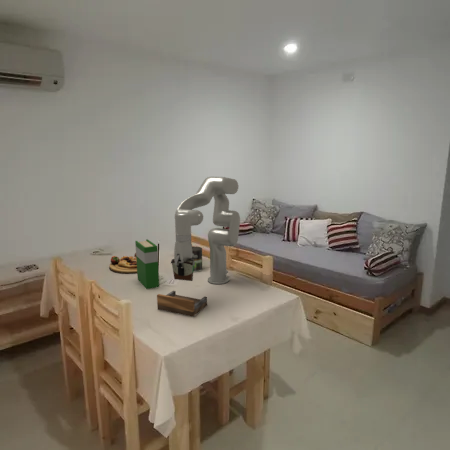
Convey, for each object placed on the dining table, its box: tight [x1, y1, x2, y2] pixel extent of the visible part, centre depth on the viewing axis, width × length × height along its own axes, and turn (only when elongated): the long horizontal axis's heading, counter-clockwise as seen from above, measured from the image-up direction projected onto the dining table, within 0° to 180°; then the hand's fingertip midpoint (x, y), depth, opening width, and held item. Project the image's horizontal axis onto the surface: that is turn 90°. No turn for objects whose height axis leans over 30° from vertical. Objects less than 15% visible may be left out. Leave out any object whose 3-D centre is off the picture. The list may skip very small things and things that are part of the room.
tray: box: [156, 290, 208, 318], centre depth 178 cm, size 14×20×8 cm
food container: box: [170, 258, 195, 282], centre depth 178 cm, size 12×6×10 cm, turn 72°
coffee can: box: [192, 246, 203, 273], centre depth 233 cm, size 10×10×14 cm
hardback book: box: [134, 238, 160, 290], centre depth 209 cm, size 18×7×24 cm, turn 29°
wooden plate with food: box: [109, 252, 137, 275], centre depth 242 cm, size 32×32×8 cm
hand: (184, 273), depth 178 cm, fingers closed on food container, 5 cm apart
